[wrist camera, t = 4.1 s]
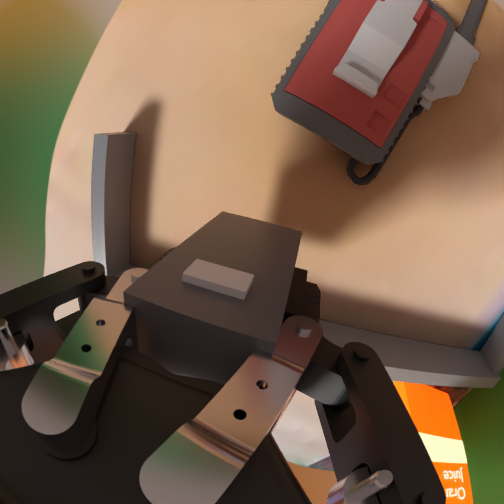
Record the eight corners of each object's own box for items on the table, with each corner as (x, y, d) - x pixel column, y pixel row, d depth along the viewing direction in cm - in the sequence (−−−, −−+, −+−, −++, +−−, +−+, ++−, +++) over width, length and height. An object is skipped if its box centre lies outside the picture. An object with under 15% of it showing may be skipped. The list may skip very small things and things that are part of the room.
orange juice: (339, 423, 23) (316, 602, 5) (401, 373, 19) (415, 600, 1) (391, 437, 23) (388, 589, 5) (449, 393, 19) (476, 569, 1)
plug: (303, 226, 13) (279, 335, 6) (283, 300, 15) (247, 426, 8) (223, 206, 14) (122, 283, 6) (213, 280, 15) (136, 384, 8)
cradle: (539, 253, 12) (567, 275, 9) (480, 362, 17) (494, 392, 13) (122, 132, 16) (82, 135, 13) (119, 272, 21) (88, 297, 17)
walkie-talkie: (385, 203, 15) (487, 1, 7) (406, 224, 11) (514, -16, 3) (260, 125, 15) (386, -64, 6) (241, 120, 11) (396, -95, 2)
